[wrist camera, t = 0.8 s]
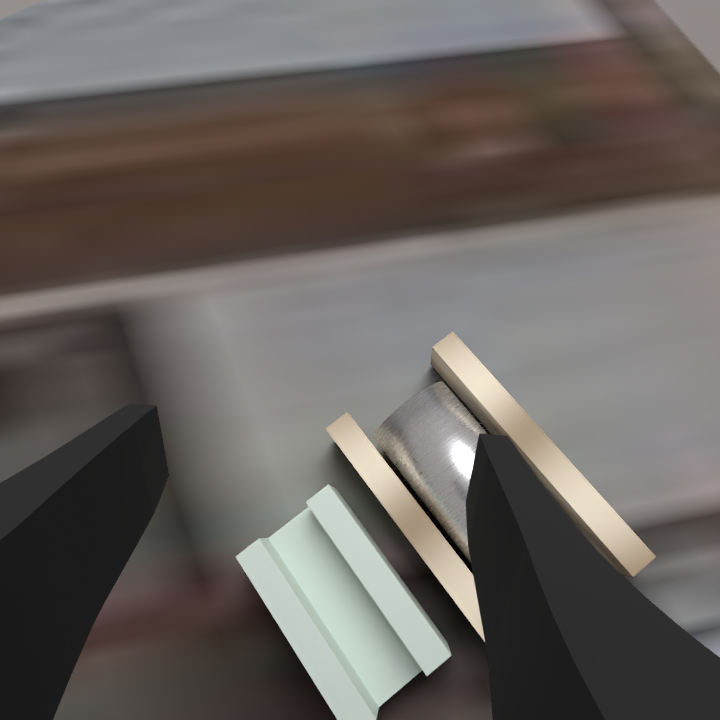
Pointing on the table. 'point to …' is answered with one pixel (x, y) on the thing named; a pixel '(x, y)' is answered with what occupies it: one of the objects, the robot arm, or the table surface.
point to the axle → (435, 454)
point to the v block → (343, 607)
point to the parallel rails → (536, 450)
